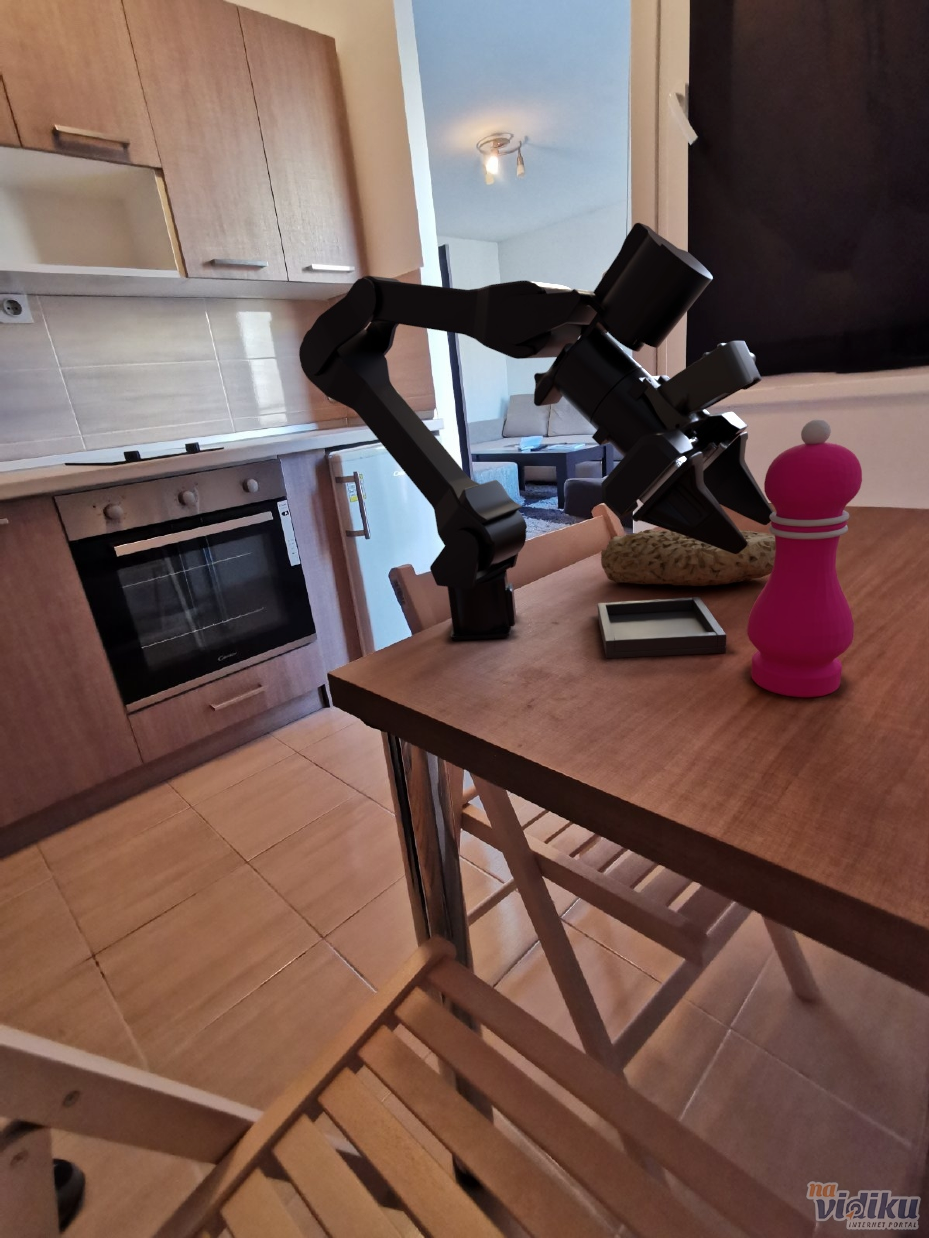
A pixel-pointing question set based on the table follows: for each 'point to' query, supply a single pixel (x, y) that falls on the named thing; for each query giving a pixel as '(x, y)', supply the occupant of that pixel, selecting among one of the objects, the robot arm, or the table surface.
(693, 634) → the shallow square tray
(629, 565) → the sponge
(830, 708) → the table surface
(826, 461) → the pepper mill
